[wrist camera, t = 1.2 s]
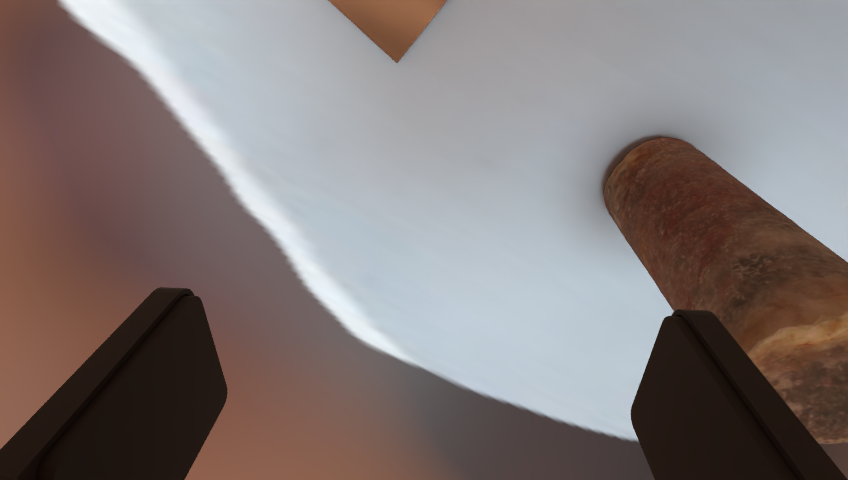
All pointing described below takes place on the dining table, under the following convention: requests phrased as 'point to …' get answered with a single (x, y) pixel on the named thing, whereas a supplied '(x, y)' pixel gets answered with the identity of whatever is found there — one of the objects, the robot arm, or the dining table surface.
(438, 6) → the board
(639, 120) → the dining table surface
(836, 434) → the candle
